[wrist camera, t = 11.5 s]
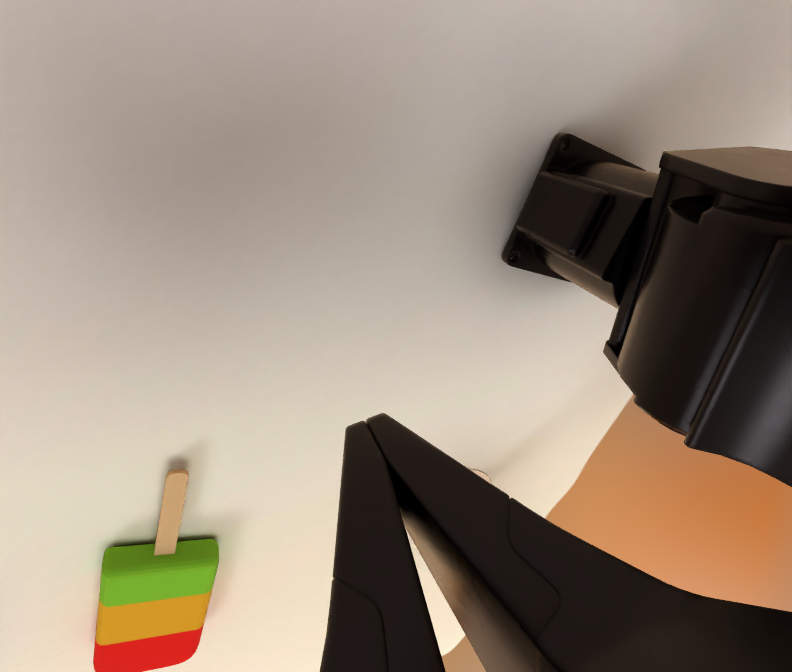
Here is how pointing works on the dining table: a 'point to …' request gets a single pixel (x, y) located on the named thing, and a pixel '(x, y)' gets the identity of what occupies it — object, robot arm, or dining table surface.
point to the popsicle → (155, 594)
